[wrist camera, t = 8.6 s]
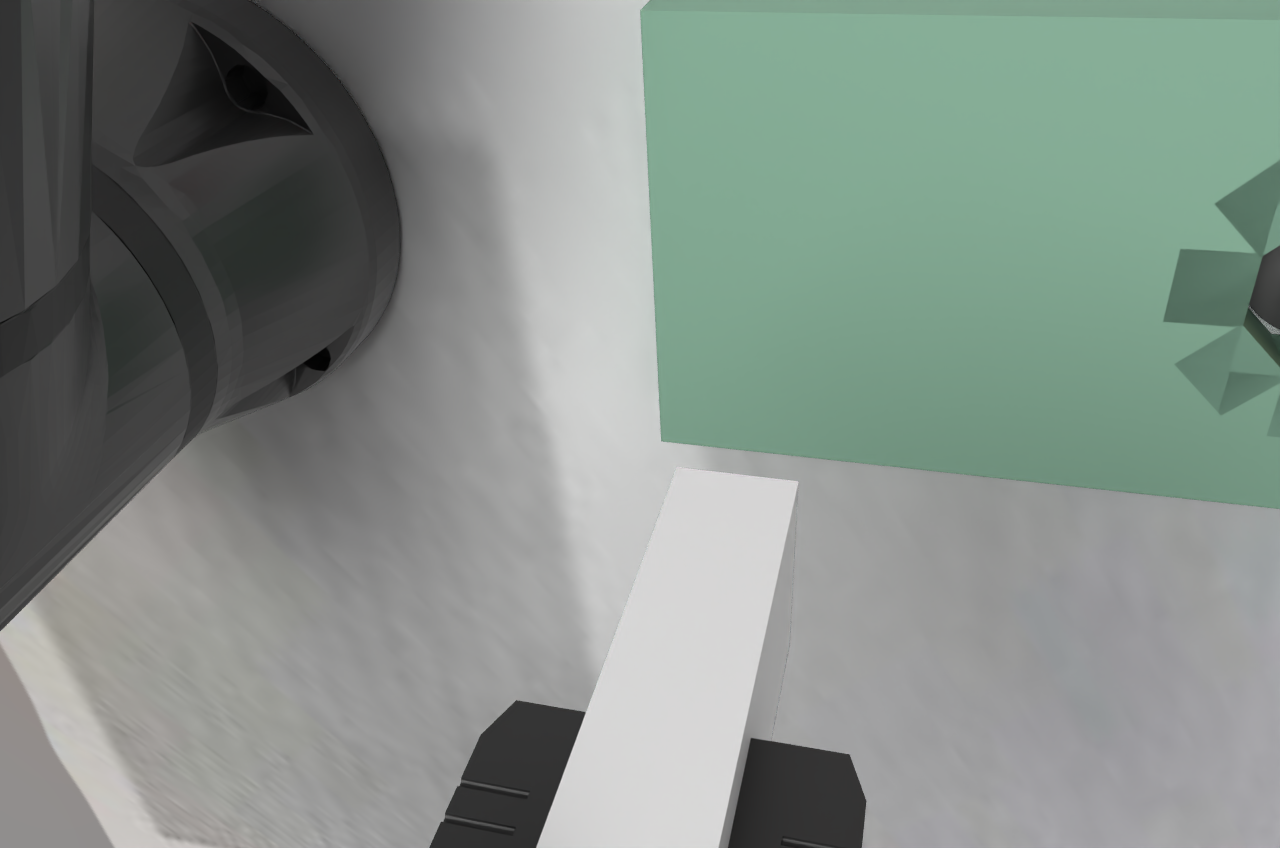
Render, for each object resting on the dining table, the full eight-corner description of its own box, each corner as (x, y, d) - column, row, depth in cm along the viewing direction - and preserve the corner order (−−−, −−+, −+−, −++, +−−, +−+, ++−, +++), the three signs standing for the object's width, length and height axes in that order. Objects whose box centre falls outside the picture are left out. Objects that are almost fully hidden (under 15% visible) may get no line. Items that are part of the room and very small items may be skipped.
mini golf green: (677, 402, 40) (570, 653, 30) (662, -12, 32) (509, 142, 22) (1451, 480, 34) (1636, 823, 24) (1664, -2, 26) (2067, 213, 16)
